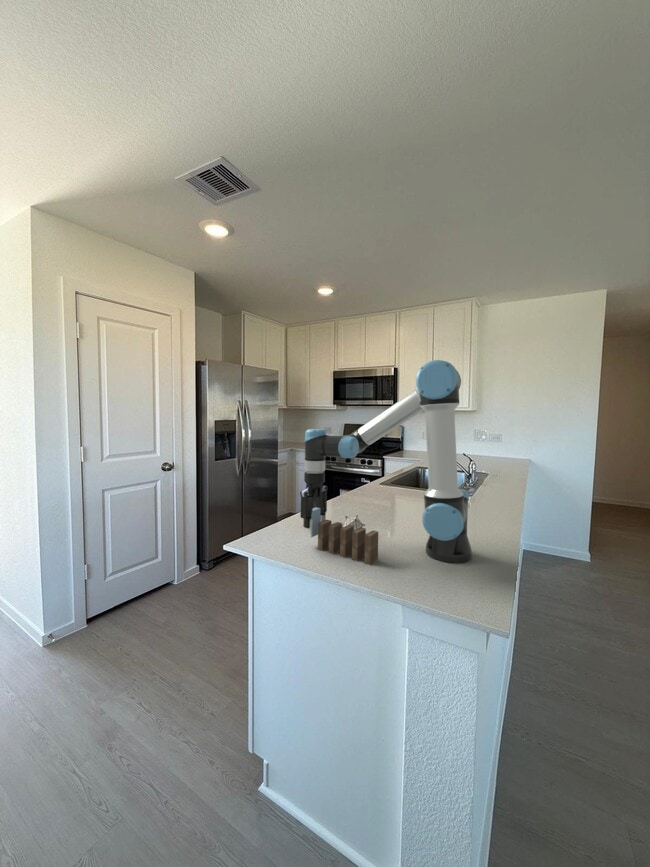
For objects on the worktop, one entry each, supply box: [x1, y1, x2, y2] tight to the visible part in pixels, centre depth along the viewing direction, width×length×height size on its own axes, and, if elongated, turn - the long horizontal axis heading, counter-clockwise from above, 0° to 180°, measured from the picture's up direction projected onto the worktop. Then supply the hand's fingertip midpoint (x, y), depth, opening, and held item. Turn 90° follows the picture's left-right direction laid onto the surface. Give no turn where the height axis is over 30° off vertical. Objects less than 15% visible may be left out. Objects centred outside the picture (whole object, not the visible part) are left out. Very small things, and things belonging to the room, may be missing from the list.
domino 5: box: [351, 527, 367, 562], centre depth 120 cm, size 2×5×10 cm, turn 143°
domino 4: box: [339, 525, 354, 558], centre depth 123 cm, size 2×5×10 cm, turn 143°
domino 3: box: [328, 521, 343, 555], centre depth 126 cm, size 2×5×10 cm, turn 143°
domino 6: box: [364, 530, 379, 566], centre depth 117 cm, size 2×5×10 cm, turn 143°
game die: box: [342, 514, 366, 530], centre depth 142 cm, size 9×8×10 cm
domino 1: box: [311, 507, 321, 538], centre depth 132 cm, size 2×5×10 cm, turn 143°
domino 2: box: [317, 519, 332, 552], centre depth 129 cm, size 2×5×10 cm, turn 143°
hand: (313, 534), depth 132 cm, fingers closed on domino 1, 5 cm apart
